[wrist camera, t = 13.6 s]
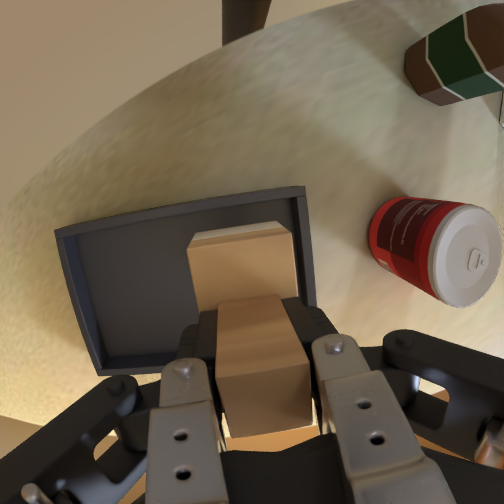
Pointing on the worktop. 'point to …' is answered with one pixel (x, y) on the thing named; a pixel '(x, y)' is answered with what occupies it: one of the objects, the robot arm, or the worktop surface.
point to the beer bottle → (460, 57)
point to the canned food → (438, 247)
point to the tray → (161, 272)
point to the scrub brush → (253, 326)
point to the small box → (502, 113)
